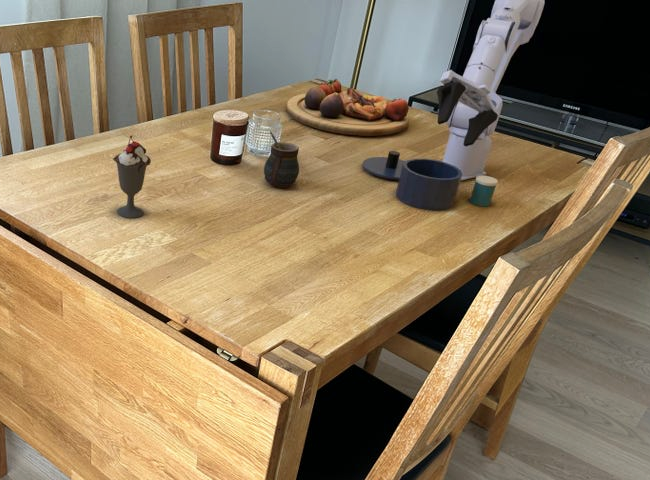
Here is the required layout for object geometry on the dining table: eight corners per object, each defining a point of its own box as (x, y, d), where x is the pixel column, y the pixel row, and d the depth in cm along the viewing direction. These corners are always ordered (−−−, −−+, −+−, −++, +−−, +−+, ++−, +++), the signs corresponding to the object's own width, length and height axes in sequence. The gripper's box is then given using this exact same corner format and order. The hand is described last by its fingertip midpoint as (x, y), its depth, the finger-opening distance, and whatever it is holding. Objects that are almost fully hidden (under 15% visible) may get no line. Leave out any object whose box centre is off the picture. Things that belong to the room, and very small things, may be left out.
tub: (477, 197, 151) (485, 174, 149) (494, 204, 149) (502, 181, 146) (464, 200, 149) (472, 177, 146) (481, 208, 147) (489, 184, 144)
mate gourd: (289, 194, 146) (297, 145, 140) (254, 185, 149) (261, 136, 143) (302, 183, 151) (310, 135, 146) (268, 174, 154) (275, 127, 148)
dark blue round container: (421, 184, 155) (429, 155, 152) (464, 204, 148) (474, 174, 144) (384, 193, 150) (391, 163, 146) (427, 214, 142) (436, 183, 139)
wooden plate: (430, 122, 192) (438, 90, 188) (366, 147, 173) (374, 112, 168) (329, 93, 210) (334, 63, 205) (261, 112, 190) (265, 80, 185)
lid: (388, 158, 167) (392, 140, 165) (430, 177, 159) (435, 158, 157) (349, 166, 161) (353, 147, 159) (391, 186, 153) (396, 166, 151)
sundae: (121, 222, 130) (123, 139, 121) (106, 207, 135) (107, 127, 126) (154, 217, 133) (158, 136, 124) (138, 203, 138) (141, 124, 129)
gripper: (471, 44, 135) (446, 106, 133) (520, 89, 141) (496, 149, 139) (443, 57, 142) (418, 116, 140) (490, 100, 147) (467, 157, 145)
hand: (455, 133), depth 140 cm, fingers open, 7 cm apart
